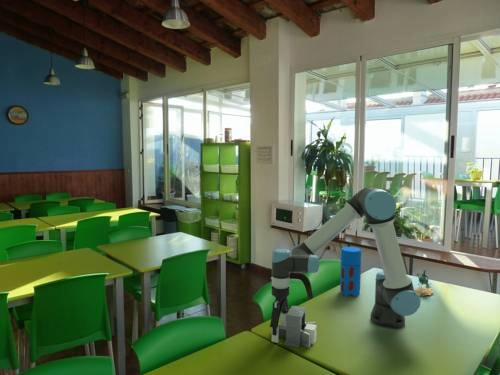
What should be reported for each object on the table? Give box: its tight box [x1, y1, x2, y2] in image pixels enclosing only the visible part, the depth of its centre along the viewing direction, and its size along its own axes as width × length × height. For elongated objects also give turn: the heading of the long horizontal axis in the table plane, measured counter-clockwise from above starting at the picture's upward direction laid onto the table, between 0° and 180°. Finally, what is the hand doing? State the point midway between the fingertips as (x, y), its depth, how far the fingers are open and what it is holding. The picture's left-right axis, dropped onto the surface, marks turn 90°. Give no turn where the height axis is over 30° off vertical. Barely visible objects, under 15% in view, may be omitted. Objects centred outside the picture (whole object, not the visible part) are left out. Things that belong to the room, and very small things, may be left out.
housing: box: [283, 305, 317, 349], centre depth 155 cm, size 10×15×12 cm
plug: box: [278, 323, 318, 345], centre depth 157 cm, size 18×5×6 cm, turn 68°
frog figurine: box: [414, 269, 434, 297], centre depth 208 cm, size 10×18×15 cm, turn 121°
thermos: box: [339, 246, 362, 297], centre depth 207 cm, size 11×11×25 cm
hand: (279, 334), depth 159 cm, fingers open, 13 cm apart
